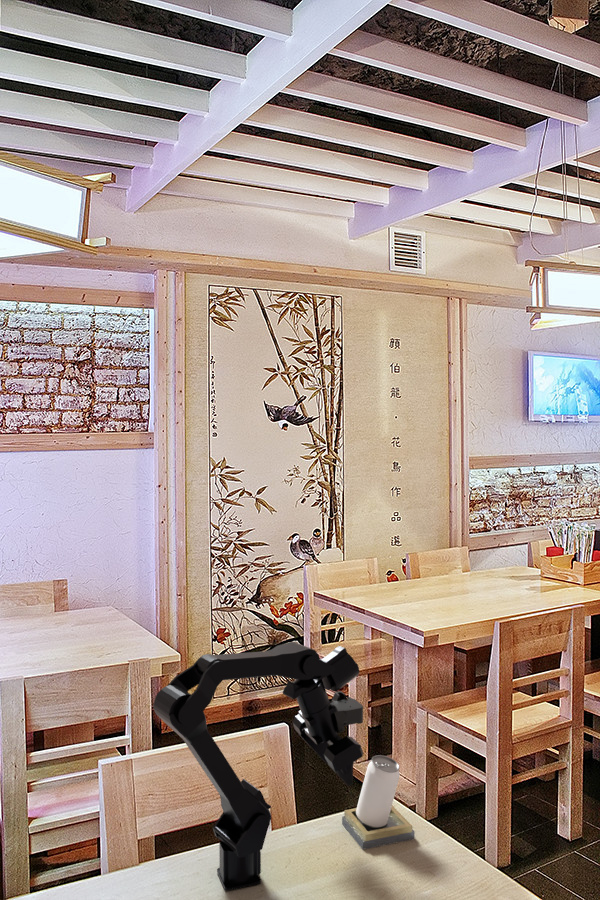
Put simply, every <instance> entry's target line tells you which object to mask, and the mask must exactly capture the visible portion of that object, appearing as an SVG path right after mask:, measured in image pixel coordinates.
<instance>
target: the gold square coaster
mask: <svg viewBox="0 0 600 900" xmlns="http://www.w3.org/2000/svg"><path fill="white" fill-rule="evenodd" d="M356 809H357V807H355V808H351V809H350V808H349V809H344V814H343V816H341V818H342V819H341V825H343V827H344V828H345V830H346V831H347V832H348V833H349V835H350V836H351V837H352V838H353V839H354V841H355V842H356V843H357V844H358V846H359V847H360V849H362V850H366V849H372V848H377V847H381V846H382V847H383V846H389V845H392V844H396V842H398V843H401V842H402V841H403V842H407V841H411V840H415V833H416V832H415V830H414V829H413V825H412V824H411V823H410V822H409V821H408V820H407V819H406V818H405V817H404V816H403V814H402V813H400V812H399V810H397V808H395V806H393V805H392V807H391V811H390V814H389V818H388V821H387V824H386V825H385V826H383V827H380V828H373V827H369V826H367V825H365V824H363V823H362V822H361V821H360V820H359V819H358V817H357V815H356Z"/></svg>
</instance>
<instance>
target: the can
mask: <svg viewBox="0 0 600 900" xmlns="http://www.w3.org/2000/svg"><path fill="white" fill-rule="evenodd" d="M400 775H401V774H400V765H399V763H398V762H397V761H396V760H395V759H393V758H391V757H389V756H386V755H383V754H382V755H381V754H380V755H379V754H378V755H373V756H372V757H371V760H370V762H369V763H368V765H367V767H366V772H365V776H364V777H363V778H364V779H363V783H362V786H361V790H360V792H359V793H360V794H359V798H358V802H357V806H356V808H357V809H356V815H357V817H358V819H359V820H360V821H361V822H362V823H363V824H365V825H367V826H369V827H373V828H380V827H383V826H385V825H386V824H387V821H388V818H389V814H390V811H391V807H392V806H393V802H394V799H395V795H396V793H397V792H396V791H397V787H398V785H399V780H400Z"/></svg>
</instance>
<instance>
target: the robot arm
mask: <svg viewBox="0 0 600 900" xmlns="http://www.w3.org/2000/svg"><path fill="white" fill-rule="evenodd" d="M359 675H360V667H359V664H358V663H356V661H355V659H354V658H353V657H352V655H351V654H350V653H348V651H347V648H346V647H343V646H341V645H339V646H336V647H335V648H334V649H333V650H332V651H331V652H330V653H328V654H327V655H325V656H324V657H323V658H322V659H321V658H320V656H319V654H318V652H317V651H316V649H313V648H311V647H309V646H306V645H303V644H301V643H299V642H295V641H289V642H285V643H282V644H279V645H275V647H273V648H272V649H269V650H266V651H265V650H263V651H252V652H237V653H235V652H234V653H226V654H225V653H223V654H211V653H207V654H202V655H201V656H199V658H198V659H197V660H196V661H195V662H193V664H192V665H191V666H189V667H188V668H186V669H184V670H183V671H182V672H180V673H178V674H177V675H175V677H174V678H172V680H171V681H170V682H169V683H168V684H167V685H165V686H164V687H163V688H161V689H160V690H159V691H158V692H157V694H156V696H155V697H154V701H153V704H152V708H153V711H154V713H155V714H156V715H157V717H159V719H160V720H162V721H163V723H165V724H166V725H167V727H169V728H170V729H171V730H172V731H173V732H174V733H176V734H177V735H178V736H179V737H180V739H182V740H183V742H184V743H185V745H186V746H187V747H188V749H189V750H190V752H191V754H192V755H193V757H194V759H195V760H196V761H197V763H198V764H199V766H200V767H201V769H202V770H203V772H204V773H205V775H206V776H207V778H208V779H209V780H210V782H211V784H212V785H213V787H214V788H215V790H216V791H217V793H218V794H219V797H220V807H221V809H222V811H223V812H222V813H221V815H220V816H219V817H218V819H217V821H216V822H215V824H214V825H213V826H212V830H213V833H214V836H215V837H216V838H217V839H219V840H220V841H219V867H218V868H216V872H217V875H218V877H219V880H220V882H221V885H222V887H223V889H224V891H227V892H228V891H231V890H237V889H242V888H246V887H247V888H248V887H251V886H257V885H260V884H261V883H262V879H261V877H260V875H261V873H262V870H261V869H262V866H261V865H262V859H261V858H262V852H261V850H263V848H264V847H263V846H264V844H265V841H266V837H267V833H268V829H269V827H270V824H271V820H272V814H271V813H272V812H271V811H270V809H271V808H272V806H271V805H270V804H269V803H267V802H266V800H265V798H264V794H263V793H262V791H261V790H260V789H259V788H257V787H256V786H254V785H253V784H252V783H250V782H249V781H247V780H246V779H245V778H243V779H242V780H240V778H239V777H238V775H237V774H236V772H235V770H234V769H233V768H232V766H231V764H230V762H229V761H228V760H227V758H226V757H225V755H224V754H223V751H222V750H221V749H220V747H219V746H218V744H217V743H216V741H215V739H214V738H213V736H212V735H211V734H210V732H209V730H208V726H207V717H206V714H205V712H204V711H205V709H207V708H208V706H209V705H210V704H211V702H212V700H213V698H214V695H215V693H216V690H217V688H218V686H219V685H220V684H221V683H222V682H223V681H229V680H241V679H250V678H261V677H262V678H263V677H270V676H271V677H272V676H273V677H274V676H276V677H283V678H288V679H293V681H291V680H288V681H286V682H287V684H286V686H284V688H283V691H282V695H284V696H285V697H286V696H287V698H290V699H291V700H296V701H297V704H298V707H299V709H300V710H298V714H297V715H294V717H293V720H292V725H293V728H294V730H295V731H296V732H297V734H298V736H299V737H301V738H302V740H303V741H304V742H305V743H306V744H307V745H308V746H309V747H310V748H311V749H312V750H313V751H314V752H315V753H316V754H317V755H318V757H320V758H321V759H322V761H323V762H324V763H325V764H327V766H329V767H330V769H331V770H332V771H333V772H334V773H335V774H336V775H337V776H338V777H339V778H340V780H342V781H343V782H344V784H345V785H346V786H347V787H350V786H351V785H353V783H354V762H356V761H358V760H359V759H361V758H363V756H364V751H363V748H362V746H361V744H360V743H359V742H357V741H356V740H355V739H354V738H353V737H352V736H348V735H345V736H344V737H341V736H340V735H339V734H338V733H343V732H344V731H346V729H345V726H351V725H356V724H358V725H361V724H363V722H364V705H363V704H361V703H360V702H359V701H358V700H357V699H355V698H352V697H351V696H347V695H346V693H344V692H343V691H341V689H342V688H343V687H344V686H346V685H347V684H348V683H350V682H352V680H354V679H356V678H357V677H358V676H359ZM196 686H197V687H196ZM195 687H196V688H195ZM193 688H195V690H194V691H193V692H192V693H190V692H188V691H190V690H192V689H193ZM339 690H340V691H339ZM327 691H331V692H334V693H333V696H332V698H331V701H330V698H329V695H328V693H327Z"/></svg>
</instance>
